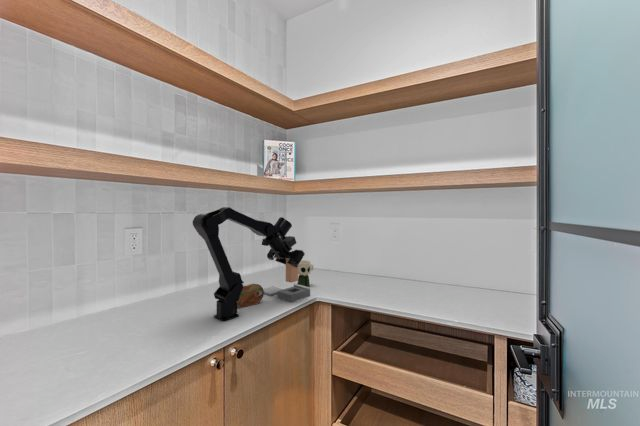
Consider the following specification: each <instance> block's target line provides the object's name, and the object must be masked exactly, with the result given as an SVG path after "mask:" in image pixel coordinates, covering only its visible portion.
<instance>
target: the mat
mask: <svg viewBox="0 0 640 426" xmlns="http://www.w3.org/2000/svg"><path fill="white" fill-rule="evenodd" d="M283 289H284V288H280V287H277V286H273V285H272V286H269V287H266V288H263V290H264V295H266V296H269V297H273V296H275V295H277V291H280V290H283Z"/></svg>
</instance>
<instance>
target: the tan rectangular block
mask: <svg viewBox="0 0 640 426" xmlns="http://www.w3.org/2000/svg"><path fill="white" fill-rule="evenodd" d="M288 261H289V259H287V258H286V265H285V282H287V283H295V282H298V277H299V274H298V267H297V268H296V267H294V266H292V265H290V264H288Z"/></svg>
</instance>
